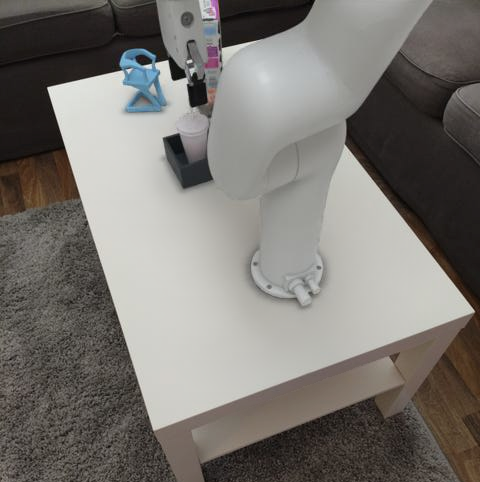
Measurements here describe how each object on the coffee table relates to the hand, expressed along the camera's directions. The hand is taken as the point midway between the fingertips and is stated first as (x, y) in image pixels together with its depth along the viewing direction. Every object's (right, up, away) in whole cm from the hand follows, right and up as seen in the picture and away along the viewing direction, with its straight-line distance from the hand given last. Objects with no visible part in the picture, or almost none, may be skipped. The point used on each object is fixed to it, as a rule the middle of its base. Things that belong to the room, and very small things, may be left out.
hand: (189, 91), depth 79 cm
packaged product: (+9, +9, +25) cm, 28 cm away
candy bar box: (+3, +19, +31) cm, 36 cm away
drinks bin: (0, -8, +14) cm, 17 cm away
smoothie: (0, -8, +14) cm, 16 cm away
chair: (-13, +10, +27) cm, 32 cm away
